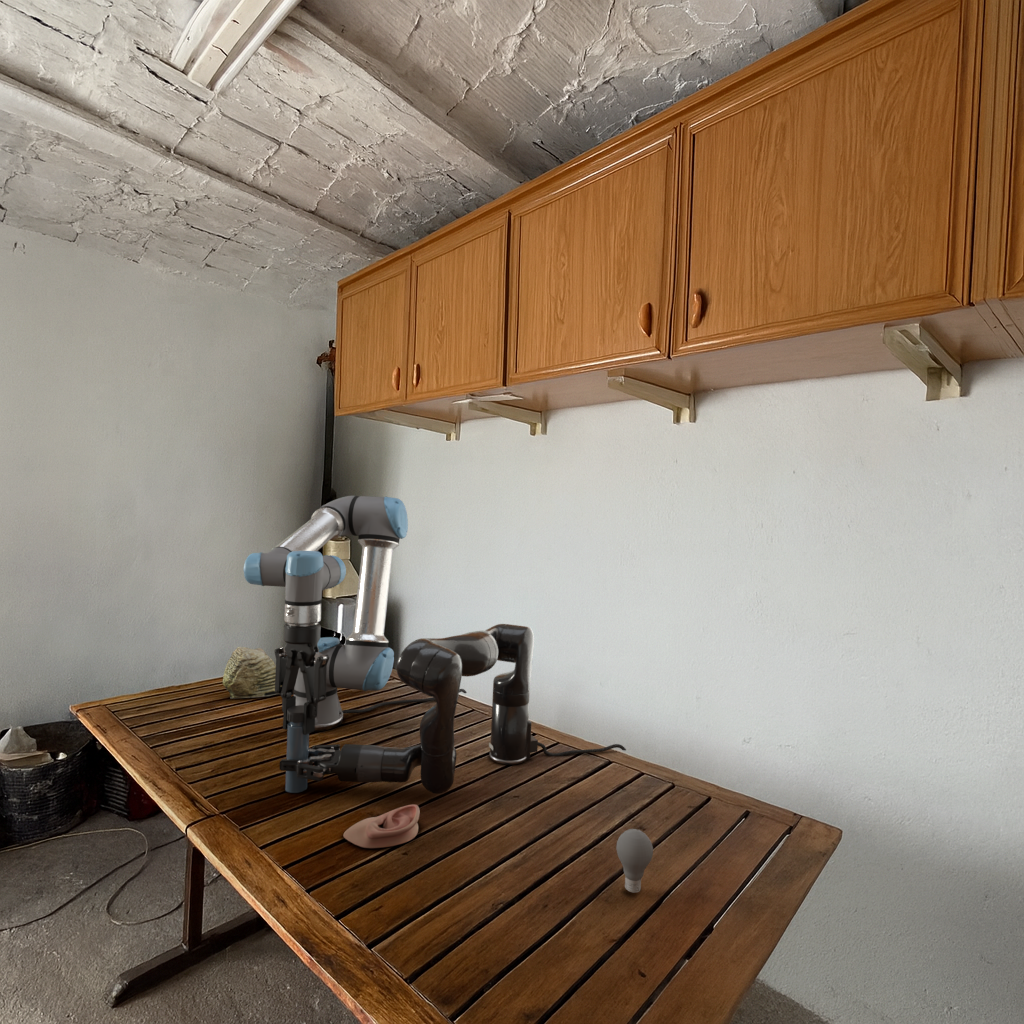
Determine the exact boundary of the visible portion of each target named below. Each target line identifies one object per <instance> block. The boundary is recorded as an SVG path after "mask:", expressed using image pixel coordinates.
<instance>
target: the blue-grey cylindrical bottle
mask: <svg viewBox="0 0 1024 1024" xmlns="http://www.w3.org/2000/svg"><path fill="white" fill-rule="evenodd" d="M309 749H310V733H309V734H306V735H304V734H303V722H300V723H294V722H289V723H288V727H287V729H286V754H285V755H286V757H285V759H293V760H305V759H308V757H309ZM307 765H309V764H307ZM308 780H309V779H305V778H300V777H297V771H285V781H284V782H285V784H284V785H285V786H284V790H285V792H287V793H290V794H299V793H302V792H304V791H306V790H307V789H308V784H309V783H308Z"/></svg>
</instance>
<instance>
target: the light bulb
mask: <svg viewBox="0 0 1024 1024" xmlns="http://www.w3.org/2000/svg"><path fill="white" fill-rule="evenodd" d="M615 849H616V854H617V857H618V859H619V861H620V863H621V865H622V867H623V873H624V874H623V875H624V876H625V878H624V888H625V890H627V891H628V892H630V893H634V894H635V893H639V892H640V891H641V889H642V887H641V886H642V879H643V877H644V875H645V871H646V868H647V867H648V866H649V864H650V863H651V861H652V859H653V855H654V847H653V843H652V841H651V838H649V836H648V835H647V834H646V833H645V832H643V831H642V830H641V829H636V828H629V829H627V830H625V831H623V832H622V833H621V834H620V835H619V837H618V839H617V841H616V847H615Z"/></svg>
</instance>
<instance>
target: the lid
mask: <svg viewBox="0 0 1024 1024" xmlns="http://www.w3.org/2000/svg"><path fill="white" fill-rule="evenodd" d="M303 715H304V705H297V706H292V707H290V708H288V709H287V720H288V721H289V722H294V723H300V722H303Z"/></svg>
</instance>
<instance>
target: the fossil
mask: <svg viewBox="0 0 1024 1024" xmlns="http://www.w3.org/2000/svg"><path fill="white" fill-rule="evenodd" d="M275 674H276V662H274V660H273V659H272V658H271V657H270V656H269V655H268V654H267V653H266V652H265V650H264V649H263V648H260V647H258V648H251V647H247V646H246V647H245V646H238V647H237V648H236V649H235V650H233V651H232V653H231V656H230V657H229V659H228V660H227V663H226V666H225V668H224V671H223V675H222V676H223V677H222V685H223V687H224V688H225V690H226V691H228V693H229V698H230V699H250V698H264V697H271V696H275V695H280V694H279V693H278V694H276V693H275ZM281 687H282V686H281Z"/></svg>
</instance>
